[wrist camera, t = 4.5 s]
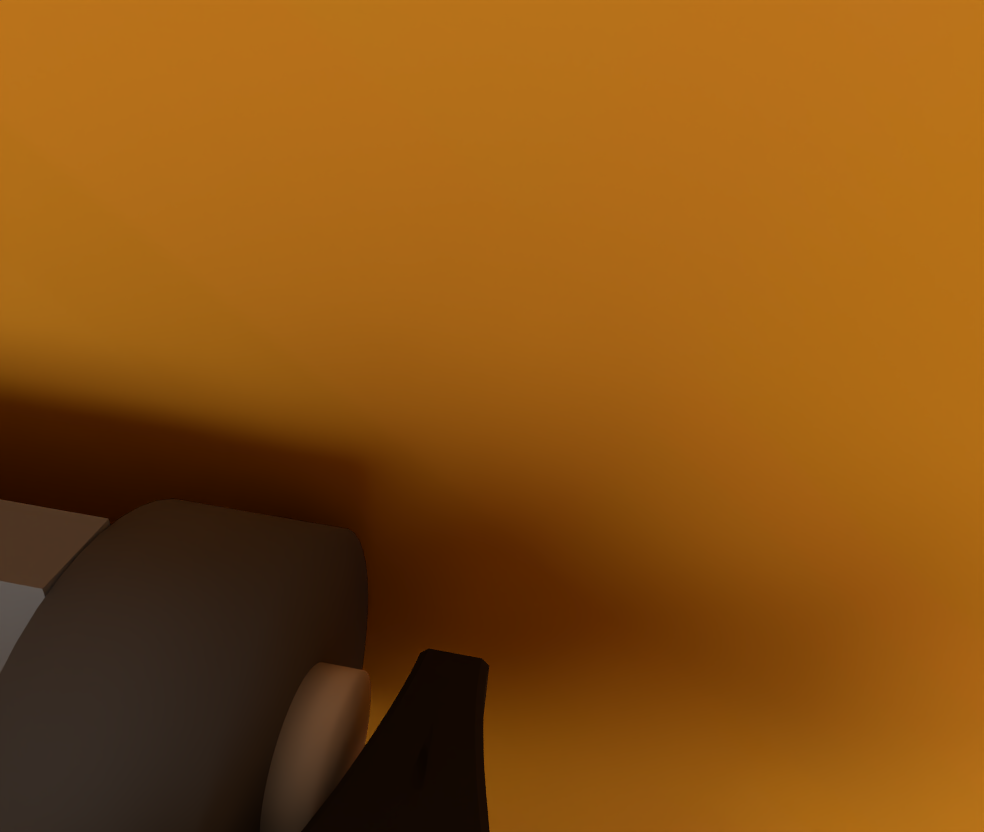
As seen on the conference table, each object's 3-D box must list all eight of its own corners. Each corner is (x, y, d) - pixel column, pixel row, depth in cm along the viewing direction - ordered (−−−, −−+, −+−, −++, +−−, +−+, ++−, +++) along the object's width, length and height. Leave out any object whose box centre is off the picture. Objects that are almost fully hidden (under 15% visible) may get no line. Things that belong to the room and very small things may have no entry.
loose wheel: (399, 719, 14) (263, 1154, 9) (244, 688, 14) (27, 1091, 9) (407, 449, 11) (205, 880, 6) (207, 416, 11) (-154, 800, 6)
